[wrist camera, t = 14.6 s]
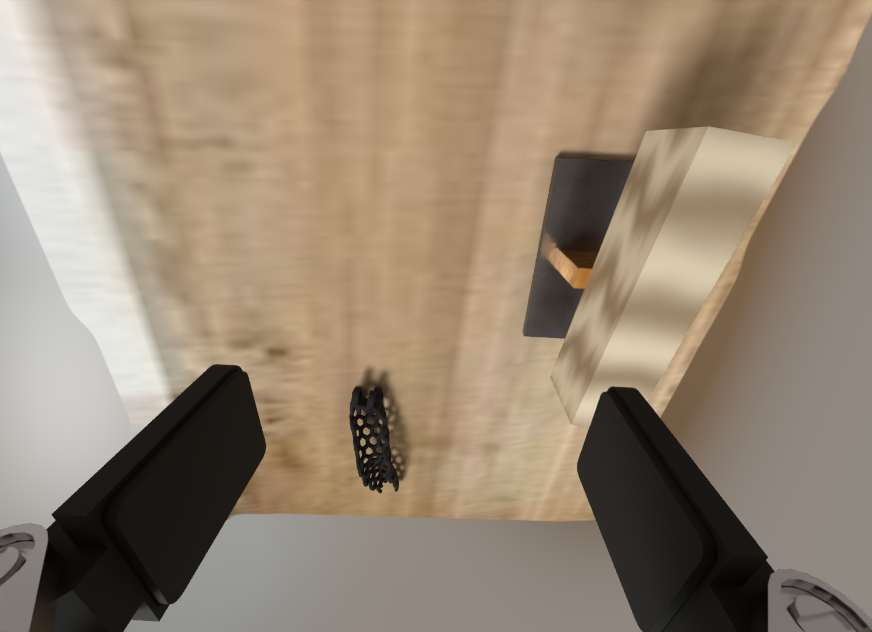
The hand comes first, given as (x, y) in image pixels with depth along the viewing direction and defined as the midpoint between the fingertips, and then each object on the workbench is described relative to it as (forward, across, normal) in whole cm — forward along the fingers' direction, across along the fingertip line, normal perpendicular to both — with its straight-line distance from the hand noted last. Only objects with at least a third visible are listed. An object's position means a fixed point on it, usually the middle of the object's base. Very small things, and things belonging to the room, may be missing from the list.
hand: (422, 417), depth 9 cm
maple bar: (+23, -17, +4) cm, 29 cm away
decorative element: (+31, +8, +33) cm, 46 cm away
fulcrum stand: (+30, -17, +4) cm, 35 cm away
